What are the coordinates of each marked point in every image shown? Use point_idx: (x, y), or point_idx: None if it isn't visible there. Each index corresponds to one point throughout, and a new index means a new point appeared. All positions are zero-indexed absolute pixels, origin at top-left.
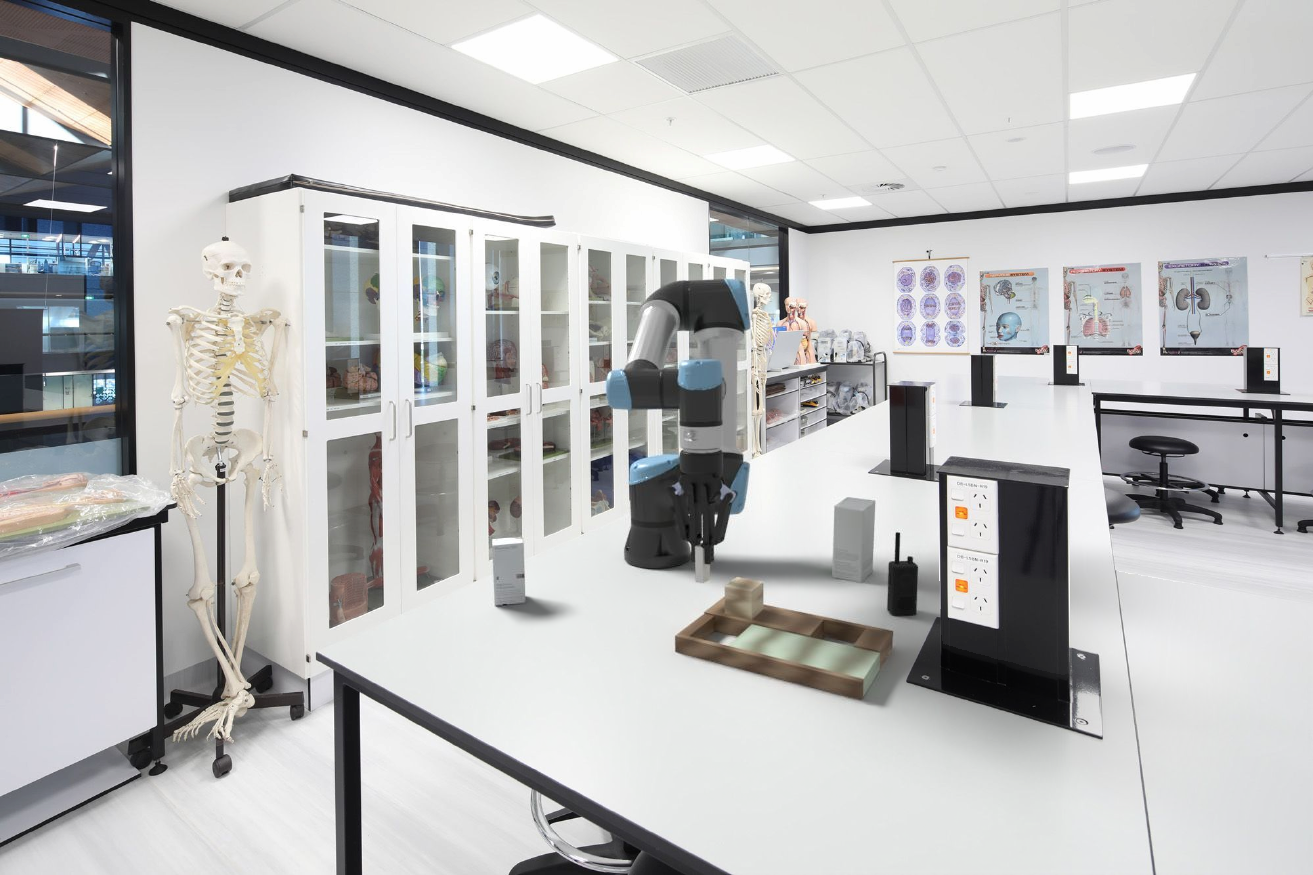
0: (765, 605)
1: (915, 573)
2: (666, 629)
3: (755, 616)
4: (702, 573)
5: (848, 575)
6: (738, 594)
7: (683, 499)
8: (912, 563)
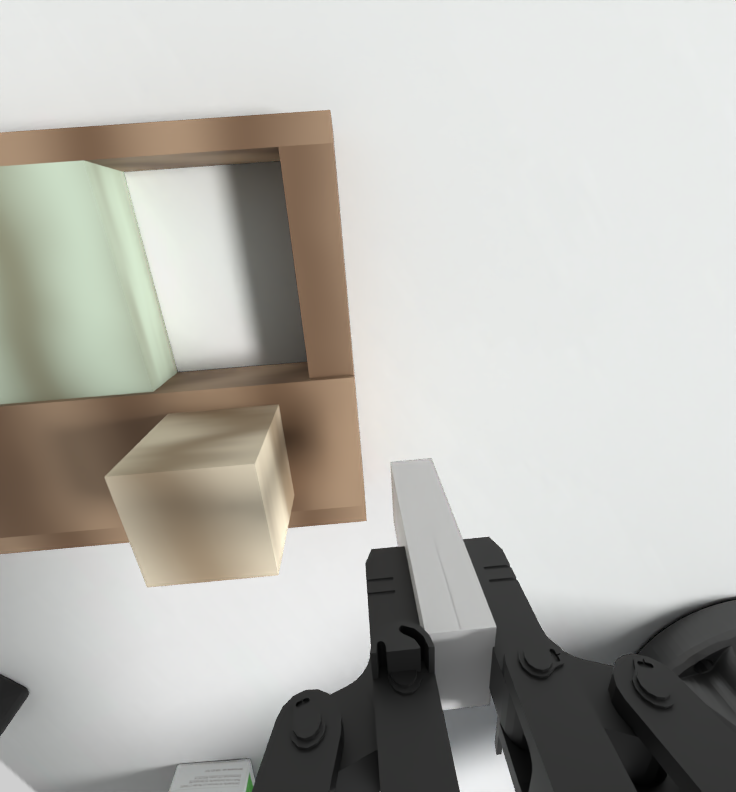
0: None
1: None
2: (460, 279)
3: None
4: (399, 492)
5: (203, 778)
6: (187, 454)
7: None
8: None
